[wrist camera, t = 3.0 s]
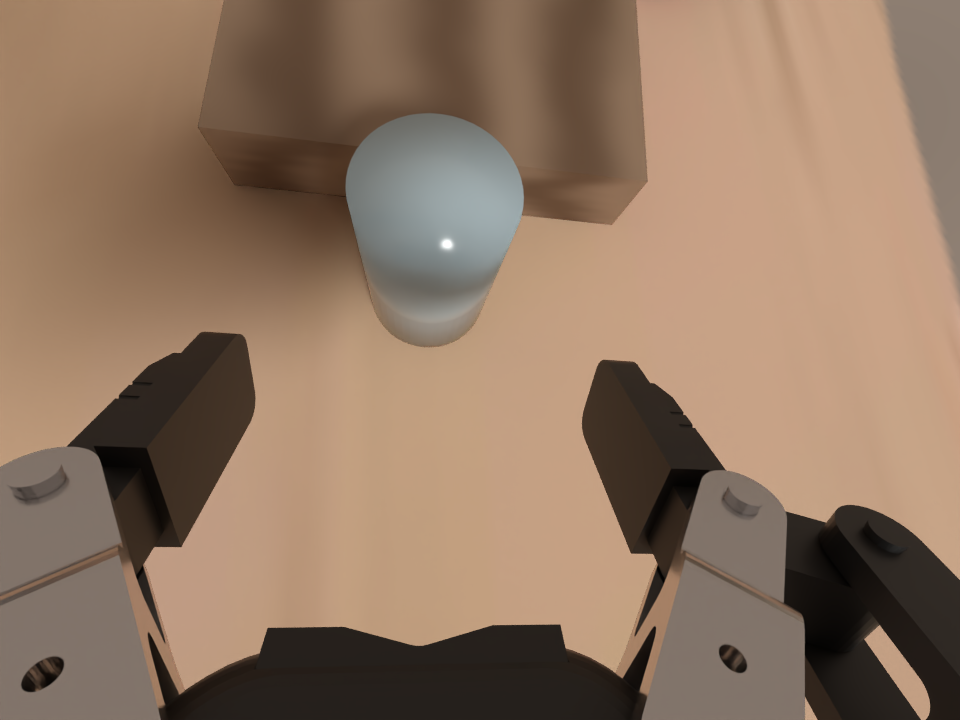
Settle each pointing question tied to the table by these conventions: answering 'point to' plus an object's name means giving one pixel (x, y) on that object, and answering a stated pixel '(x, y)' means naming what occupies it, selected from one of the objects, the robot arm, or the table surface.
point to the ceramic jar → (432, 222)
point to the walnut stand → (433, 91)
